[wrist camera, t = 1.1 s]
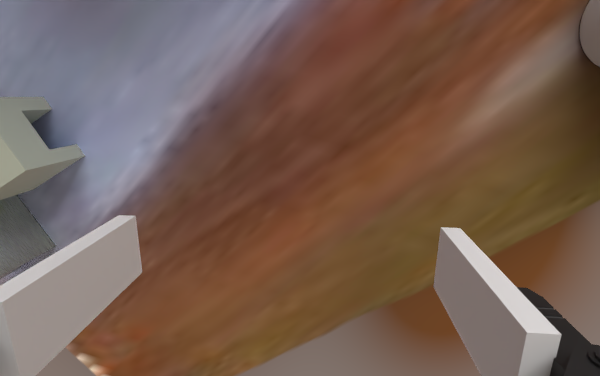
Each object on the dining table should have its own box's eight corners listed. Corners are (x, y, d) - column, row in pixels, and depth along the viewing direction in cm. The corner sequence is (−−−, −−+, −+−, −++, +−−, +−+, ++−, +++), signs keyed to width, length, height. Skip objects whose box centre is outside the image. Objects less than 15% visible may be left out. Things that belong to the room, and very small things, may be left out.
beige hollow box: (43, 96, 38) (-29, 97, 31) (85, 155, 40) (25, 170, 32) (-12, 136, 40) (-94, 146, 32) (30, 191, 41) (-39, 213, 34)
